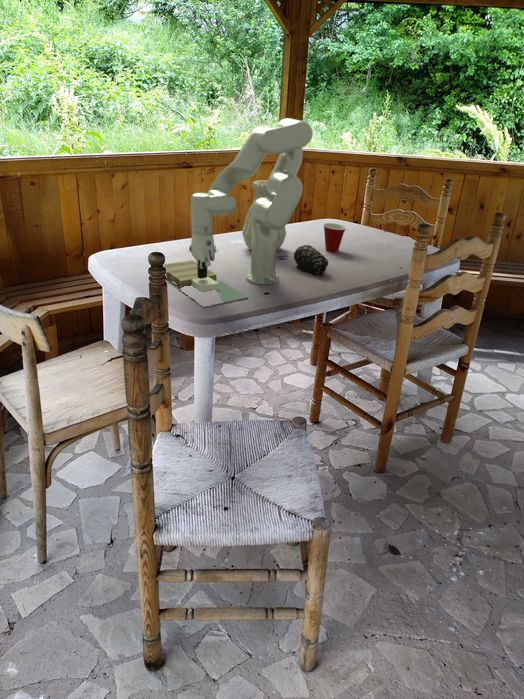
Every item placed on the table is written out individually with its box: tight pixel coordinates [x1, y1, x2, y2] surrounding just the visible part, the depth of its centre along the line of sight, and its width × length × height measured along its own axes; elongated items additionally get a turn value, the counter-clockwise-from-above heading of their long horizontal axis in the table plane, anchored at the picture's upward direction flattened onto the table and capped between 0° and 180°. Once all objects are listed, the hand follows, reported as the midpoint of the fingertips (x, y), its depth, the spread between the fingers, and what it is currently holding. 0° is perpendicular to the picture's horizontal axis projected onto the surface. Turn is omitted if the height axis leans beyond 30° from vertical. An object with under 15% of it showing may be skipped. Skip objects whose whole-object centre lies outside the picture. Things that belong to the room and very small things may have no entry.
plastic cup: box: [322, 222, 348, 254], centre depth 254 cm, size 11×11×12 cm
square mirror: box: [216, 280, 249, 303], centre depth 202 cm, size 19×18×1 cm
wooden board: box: [163, 259, 217, 287], centre depth 216 cm, size 20×15×3 cm
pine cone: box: [293, 244, 329, 278], centre depth 228 cm, size 10×18×10 cm, turn 42°
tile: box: [192, 277, 219, 292], centre depth 205 cm, size 8×7×2 cm
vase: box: [241, 179, 287, 251], centre depth 247 cm, size 20×20×30 cm
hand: (202, 277), depth 206 cm, fingers closed
